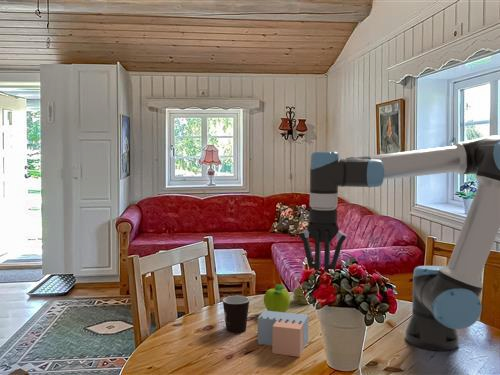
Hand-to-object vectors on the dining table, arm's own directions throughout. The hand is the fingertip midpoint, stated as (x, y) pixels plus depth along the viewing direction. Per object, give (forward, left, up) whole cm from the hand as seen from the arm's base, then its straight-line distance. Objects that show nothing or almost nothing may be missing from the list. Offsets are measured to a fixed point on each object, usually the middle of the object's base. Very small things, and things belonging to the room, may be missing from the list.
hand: (321, 292), depth 135 cm
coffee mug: (+30, -15, -19) cm, 38 cm away
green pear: (+15, -48, -19) cm, 53 cm away
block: (+10, -2, -19) cm, 21 cm away
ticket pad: (+13, -8, -19) cm, 24 cm away
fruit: (+21, -32, -19) cm, 42 cm away
